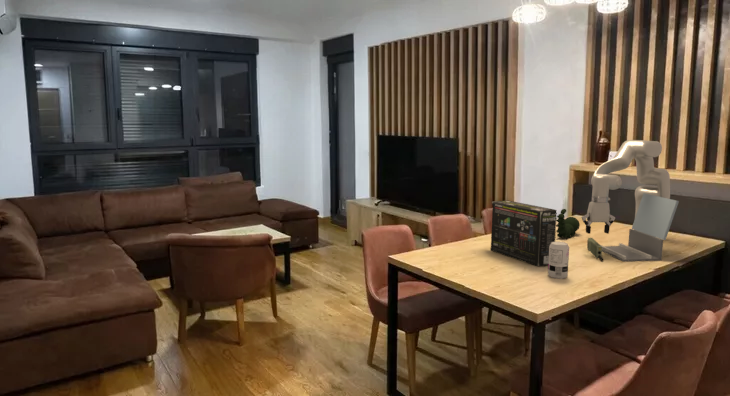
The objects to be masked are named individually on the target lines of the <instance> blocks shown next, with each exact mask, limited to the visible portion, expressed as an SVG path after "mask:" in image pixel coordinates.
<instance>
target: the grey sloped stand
mask: <svg viewBox="0 0 730 396" xmlns="http://www.w3.org/2000/svg"><path fill="white" fill-rule="evenodd" d="M600 245H601V244H600ZM663 245H664V240H663V239H660V238H657V237H653V236H650V235H647V234H644V233H642V232H639V231H636V230H634V229H632V228H629V232H628V245H626V244H623V243H621V242H620V243H619V245H617V246H615V245H610V246H609V245H608V246H607V245H606V246H604V245H601V246H602V253H604V254H606V255H608V256H611V257H613V258H615V259H617V260H618V261H621V262H623V263H624V262H655V261H656V262H657V261H663V260H662V257H663V250H664V249H663V247H664V246H663Z"/></svg>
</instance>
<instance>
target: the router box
mask: <svg viewBox="0 0 730 396" xmlns="http://www.w3.org/2000/svg"><path fill="white" fill-rule="evenodd" d="M491 204H492V215H491V216H492V217H491V232H490V233H491V236H490V237H491V238H490V239H491V241H490V251H492V252H494V253H497V254H500V255H503V256H506V257H509V258H512V259H516V260H518V261H521V262H524V263H527V264H530V265H533V266H535V267H542V266H548V262H549V246H550V244H551V242H556V237H557V232H556V231H557V230H556V229H557V227H556V225H557V221H556V220H558V217H557V216H558V215H557V214H558V212H557V209H553V208H548V207H542V206H538V205H533V204H528V203H524V202H523V203H522V202H518V201H517V202H516V201H512V200H502V201H501V200H499V201H498V200H497V201H492V202H491Z"/></svg>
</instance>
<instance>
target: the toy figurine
mask: <svg viewBox="0 0 730 396" xmlns="http://www.w3.org/2000/svg"><path fill="white" fill-rule="evenodd" d="M566 213H567V209H566V208H562V209H561V210H560V213H559V214H558V215H557V219H556V228H557V229H556V230H555V231H556V237H558V238H562V237H563V238H564V239H565V238H567V239H571V238H572V237H574V236H575V235H576V232H577V231H578V230H579V229H580V225H581V224H580V222H579V220H578V219H577V218H576V217H574V216H569V217H568V216H567V217H566V218H565V214H566Z"/></svg>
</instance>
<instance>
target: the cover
mask: <svg viewBox="0 0 730 396" xmlns="http://www.w3.org/2000/svg"><path fill="white" fill-rule="evenodd" d="M679 202H680V201H679V200H675V199H671V198H670V199H667V198H663V197H659V196H654V195H650V194H645V193H643V196H642V199H641V202H640V205H639V208H638V211H637V214H636V217H635V216H634V221H633V224H632V227H631V229H633V230H637V231H640V232H643V233H646V234H648V235H651V236H654V237H656V238H659V239H661V240H663V241H666V239H667V237H668V235H669V231H670V228H671V225H672V222H673V220H674V217H675V213H676V211H677V208H678V205H679Z"/></svg>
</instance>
